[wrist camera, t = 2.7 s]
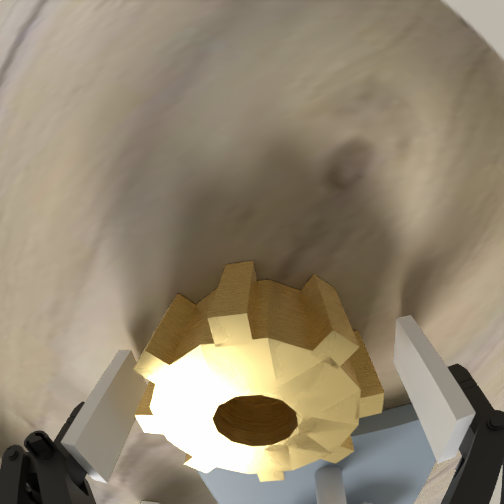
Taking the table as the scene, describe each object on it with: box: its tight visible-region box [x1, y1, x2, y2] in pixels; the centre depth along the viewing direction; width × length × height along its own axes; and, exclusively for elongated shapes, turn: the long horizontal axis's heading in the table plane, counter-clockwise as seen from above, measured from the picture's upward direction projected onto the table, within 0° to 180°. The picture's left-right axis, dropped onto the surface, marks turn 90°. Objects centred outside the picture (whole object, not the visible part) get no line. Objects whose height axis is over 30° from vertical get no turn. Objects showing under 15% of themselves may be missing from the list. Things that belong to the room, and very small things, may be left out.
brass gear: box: [133, 261, 384, 482], centre depth 13 cm, size 10×10×4 cm
